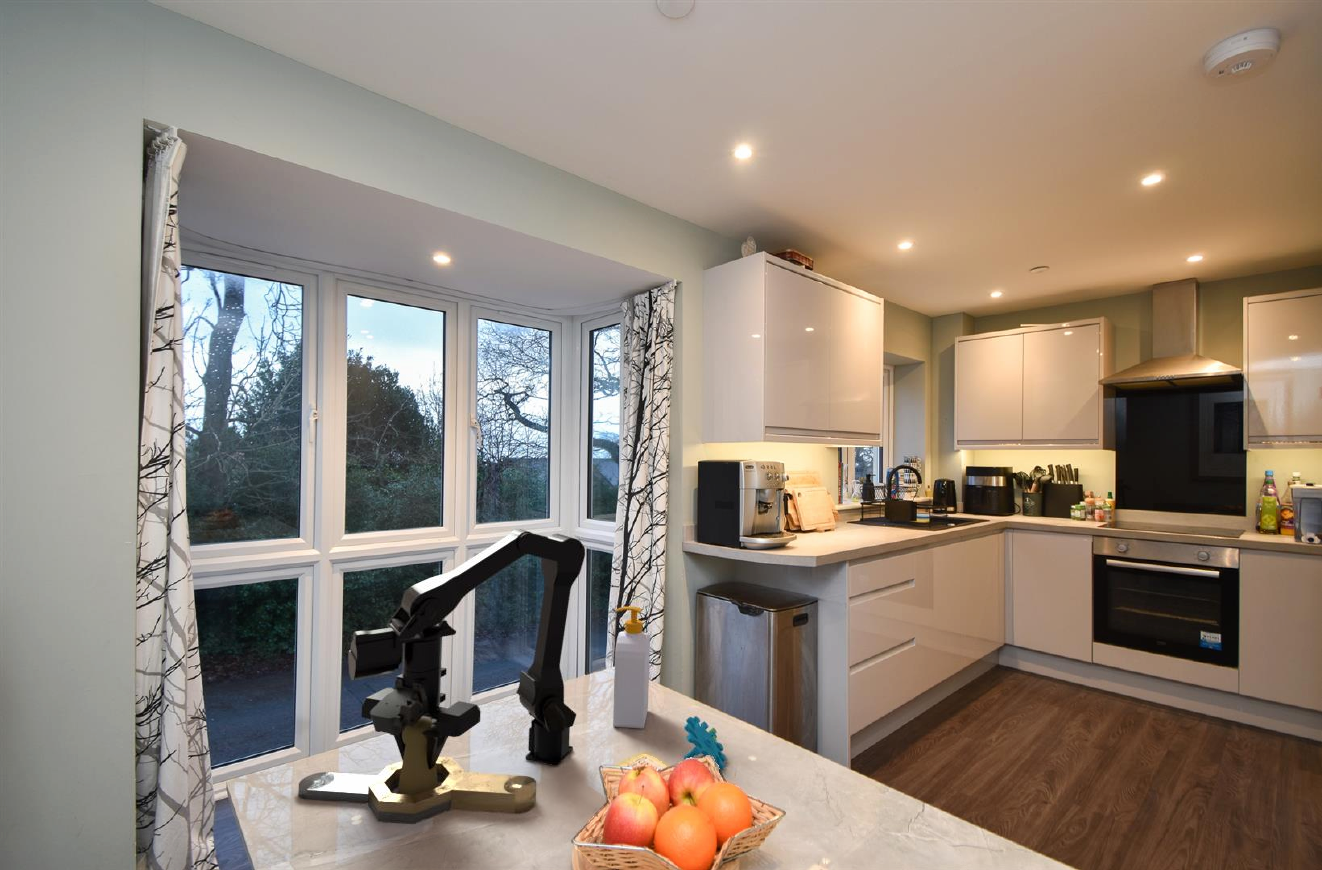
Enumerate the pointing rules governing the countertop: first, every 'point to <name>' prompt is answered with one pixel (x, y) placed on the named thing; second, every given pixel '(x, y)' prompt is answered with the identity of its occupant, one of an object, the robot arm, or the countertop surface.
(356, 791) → the lower chain end
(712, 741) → the teal irregular branched piece
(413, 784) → the cork
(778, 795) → the countertop surface
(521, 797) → the upper chain end
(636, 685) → the soap bottle
